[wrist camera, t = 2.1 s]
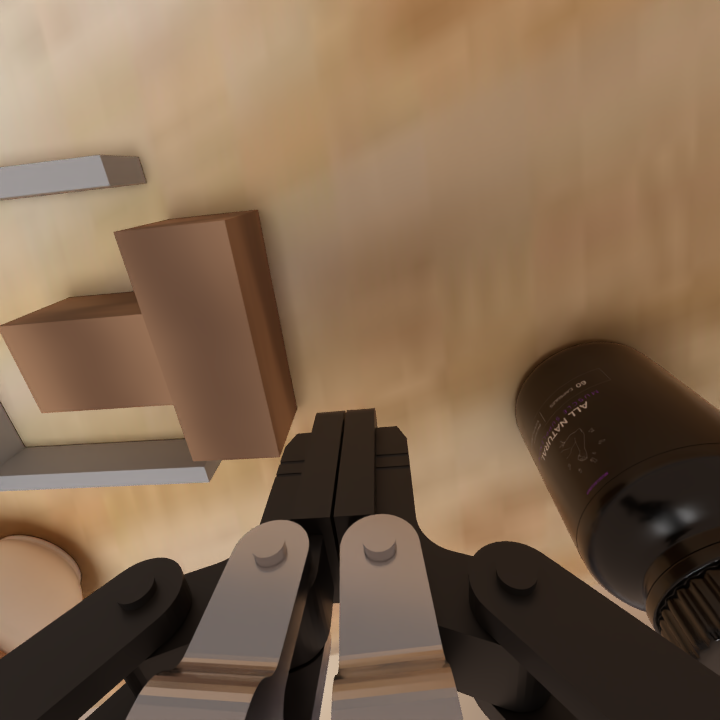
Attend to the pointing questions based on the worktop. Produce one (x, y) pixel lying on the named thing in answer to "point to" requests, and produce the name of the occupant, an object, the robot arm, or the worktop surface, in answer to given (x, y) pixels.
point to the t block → (173, 338)
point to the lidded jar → (33, 587)
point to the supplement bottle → (634, 483)
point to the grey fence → (104, 460)
